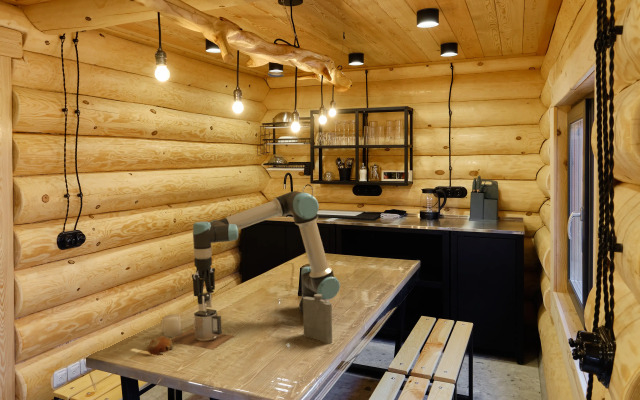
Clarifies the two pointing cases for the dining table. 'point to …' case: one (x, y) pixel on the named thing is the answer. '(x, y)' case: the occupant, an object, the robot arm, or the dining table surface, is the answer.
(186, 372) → the dining table surface
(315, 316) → the grey upright slab
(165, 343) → the bread roll
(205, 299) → the plunger
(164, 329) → the cream egg shape
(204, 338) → the grey faceted handled container
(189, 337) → the board
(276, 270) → the dining table surface
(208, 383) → the dining table surface
